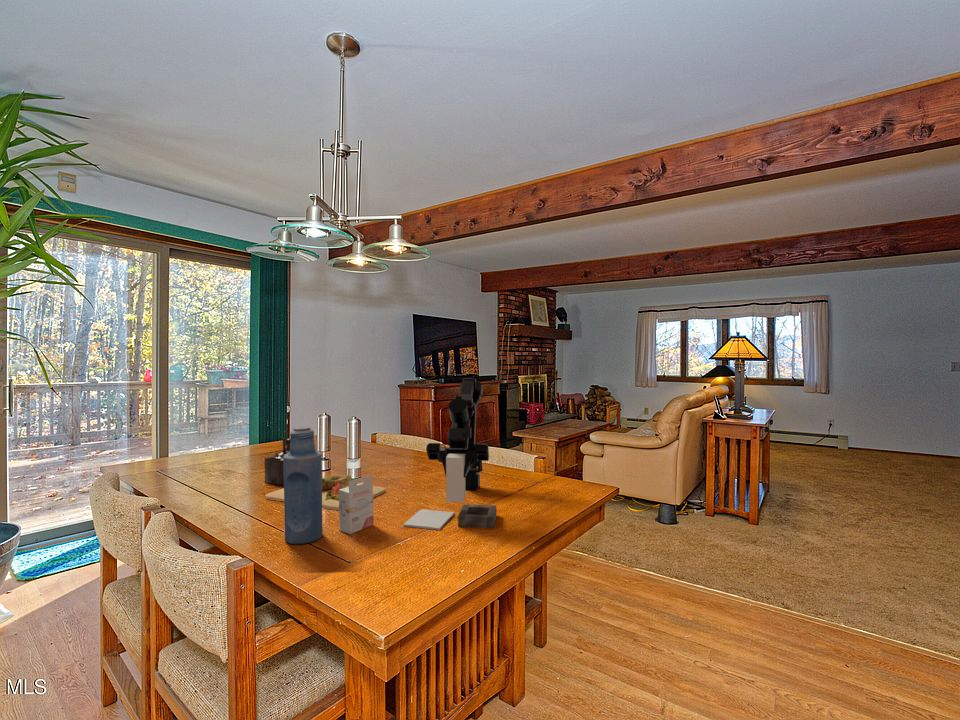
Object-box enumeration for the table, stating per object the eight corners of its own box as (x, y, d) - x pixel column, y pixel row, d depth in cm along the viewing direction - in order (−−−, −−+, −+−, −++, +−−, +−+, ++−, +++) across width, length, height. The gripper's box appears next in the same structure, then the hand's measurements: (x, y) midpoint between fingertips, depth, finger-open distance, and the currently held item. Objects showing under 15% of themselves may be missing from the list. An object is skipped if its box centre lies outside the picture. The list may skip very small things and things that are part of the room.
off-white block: (446, 501, 135) (446, 457, 135) (449, 496, 140) (448, 453, 140) (463, 502, 135) (463, 457, 135) (465, 496, 140) (465, 453, 140)
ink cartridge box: (362, 521, 137) (362, 472, 137) (374, 525, 134) (373, 474, 134) (338, 530, 131) (337, 478, 130) (349, 534, 128) (348, 481, 127)
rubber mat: (403, 526, 133) (403, 524, 133) (421, 511, 146) (421, 509, 146) (439, 530, 131) (439, 527, 131) (454, 514, 143) (454, 512, 143)
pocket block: (458, 526, 133) (458, 516, 133) (463, 514, 143) (463, 504, 143) (493, 528, 132) (493, 517, 132) (496, 515, 142) (496, 505, 142)
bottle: (327, 530, 131) (326, 424, 130) (316, 545, 121) (314, 430, 120) (292, 531, 130) (291, 424, 130) (278, 546, 120) (277, 430, 120)
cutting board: (387, 492, 168) (387, 471, 167) (346, 513, 146) (345, 489, 146) (311, 482, 181) (310, 463, 181) (262, 500, 159) (261, 478, 159)
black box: (262, 482, 178) (261, 435, 178) (286, 475, 188) (286, 431, 188) (289, 488, 171) (288, 439, 170) (313, 480, 180) (312, 434, 180)
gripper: (427, 416, 142) (419, 461, 131) (488, 417, 140) (485, 462, 129) (432, 437, 150) (425, 481, 139) (490, 438, 148) (487, 482, 137)
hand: (455, 476), depth 136 cm, fingers closed on off-white block, 5 cm apart
